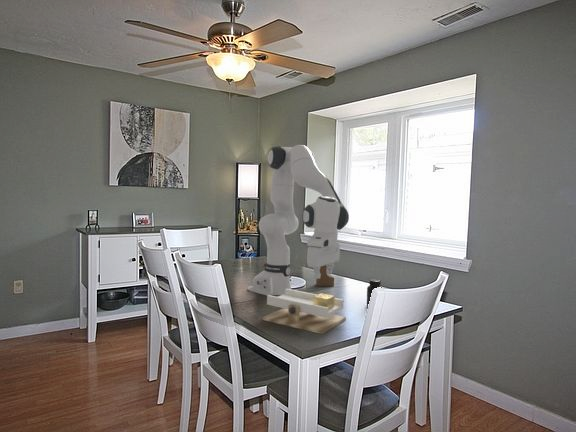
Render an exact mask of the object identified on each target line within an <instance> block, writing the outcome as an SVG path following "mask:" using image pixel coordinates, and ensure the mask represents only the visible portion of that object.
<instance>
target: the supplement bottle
mask: <svg viewBox="0 0 576 432" xmlns="http://www.w3.org/2000/svg"><path fill="white" fill-rule="evenodd" d="M381 282H382V281H381V280H380V279H377V278H376V279H375V278H372V279H369V282H368V284H369V285H367V288H366V307H367V308H368V304H369V301H370V297H371V293H372V290H373V289H374V288H377V287H381V288H383V287H382V283H381Z"/></svg>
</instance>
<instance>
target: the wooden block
mask: <svg viewBox="0 0 576 432" xmlns="http://www.w3.org/2000/svg"><path fill="white" fill-rule="evenodd" d="M319 271H320V273H321V278H319V279H317V278H315V284H316V286H317V287H334V286H335V277H334V276H332V275H329V274H327V273H326V272H327V265H324V266H321V267H320V270H319Z"/></svg>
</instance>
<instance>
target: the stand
mask: <svg viewBox="0 0 576 432" xmlns="http://www.w3.org/2000/svg"><path fill="white" fill-rule="evenodd" d="M299 310H300V306H297V305H292V304H290V305H288V309H285V308H280V309H279V310H275V311H273V312H272V313H269V314H267V315H265V316H262V317H261V318H262V320H263V321H266V322H270V323H273V324H274V323H275V324H278V325H282V326H285V327H290V328H295V329H299V330H304V331H308V332H312V333H316V334H320V335H324V334H325V333H327V332H328V331H330V330H331V329H333V328H335V327H336V326H338V325H339V324H341V323H343V322H344V321H346V320H347V319H346V318H347V317H346V316H341V315H338V314H333V315H331V316H329V317H327V318H324V317H320V316H316V315H311V314H307V313H302V312H299Z"/></svg>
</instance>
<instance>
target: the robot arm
mask: <svg viewBox="0 0 576 432" xmlns="http://www.w3.org/2000/svg"><path fill="white" fill-rule="evenodd" d="M315 161H316V160H315V154H314V152H313V151H311V150H310V149H309V148H308V146H306V145H304V144H296V145H294V146H278V145H277V146H272V147H271V148H270V149H269V150H268V154H267V164H268V165H269V166H268V167H270V168H271V169H273V171H272V176H271V183H270V196H269V198H270V199H269V200H270V202H271V203H272V205H273V208H274V213H269V214H266V215H264V216H262V217H261V218H260V219H259V222H258V229H259V232H260V233H261V234H262V235H263V237H264V240H265V244H266V250H267V253H266V259H267V260H266V261H267V262H266V263H264V264H263V265H262V268H263V270H262V271H260V272H259V273H258V274H256V276H254V278H253V279H252V285H249V286H248V287H247V291H250V292H252V293H256V294H258V295H259V294H260V295H264V296H266V297H267V296H268V295H271V296H281V295H283V294H285V289H292V286H291V277H290V275H291V263H290V260H291V257H290V256H291V255H290V254H291V248H290V246H289V245H288V244H287V241H286V236H285V235H291V234H293V233H295V232H296V231H297V230H298V227H299V225H300V224H299V218H298V217H297V216H296V213H295V207H294V192H295V191H294V190H295V183H296V184H297V185H298V186H300V187H303V188H306V189H309V190H313V191H315V192H318V193H319V194H320V195H321V196H318V197H317V198H316V199H315V200H316V201H315V202H313V203H310V204H307V205H306V206H305V207H304V208H303V210H302V218H301V219H302V223H303V224H304V225H305V226H306V227H307V228H309V229H314V231H313V234H312V235H311V237H309V238H308V239H307V242H306V246H308V248H307V252H306V253H307V254H306V264H307V267H308V268H313V272H314V273H313V274H314V279H316V278H317V279H319V278H321V273H320V271H319V270H320V267H321V266H324V265H326V266H327V268H326V273H327V275H329V276H331V275H332V274H333V270H334V268H335V267H334V266H335V263H336V262H339V261H340V259H341V258H340V257H341V251H340V250H341V247H340V244H339V241H338V234H339V232H338V230H339V231H341V230H342V229H344V228H345V227H346V226H347V224H348V223H349V220H350V219H349V218H350V215H349V211H348V209H347V208H346V206H345V204H344V203H342V201H341V199H340V197H339V196H338V194H337V192H336V190H335V187H334V186H333V185H332V182H331V180H330V179H329V178H328V177H327V176H326V175H325V174H324V173H323V172H322V171H320V169H319V168H318V165H317V164H316V162H315Z"/></svg>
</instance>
